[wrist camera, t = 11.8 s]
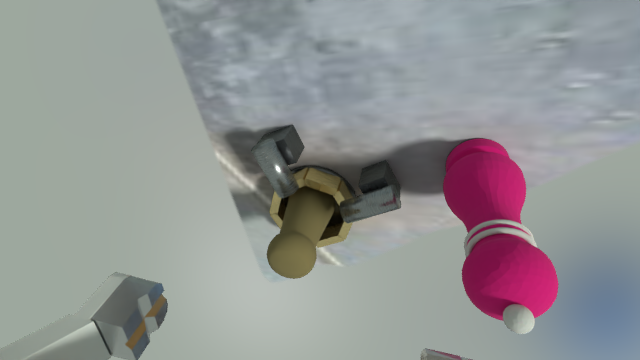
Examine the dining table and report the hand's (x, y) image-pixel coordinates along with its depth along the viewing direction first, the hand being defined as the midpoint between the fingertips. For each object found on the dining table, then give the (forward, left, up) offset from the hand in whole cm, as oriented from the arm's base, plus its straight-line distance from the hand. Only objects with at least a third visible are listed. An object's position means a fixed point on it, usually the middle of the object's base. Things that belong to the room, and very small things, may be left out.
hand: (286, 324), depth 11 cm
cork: (-1, -19, -29) cm, 34 cm away
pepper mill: (+14, -7, -29) cm, 33 cm away
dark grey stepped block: (-6, -13, -29) cm, 32 cm away
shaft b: (+5, -13, -29) cm, 32 cm away
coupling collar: (-1, -19, -29) cm, 35 cm away
